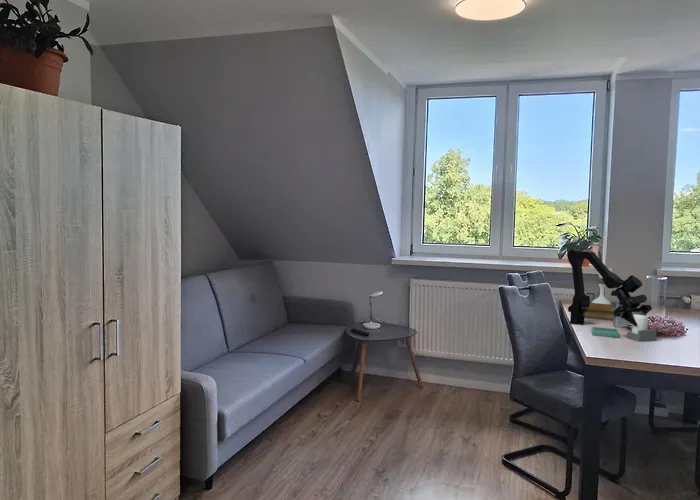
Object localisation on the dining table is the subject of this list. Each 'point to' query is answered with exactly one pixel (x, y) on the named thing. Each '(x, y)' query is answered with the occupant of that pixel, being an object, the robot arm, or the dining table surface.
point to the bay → (643, 335)
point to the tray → (605, 332)
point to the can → (640, 322)
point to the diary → (600, 311)
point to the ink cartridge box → (620, 319)
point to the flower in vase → (601, 294)
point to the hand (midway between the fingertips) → (642, 325)
